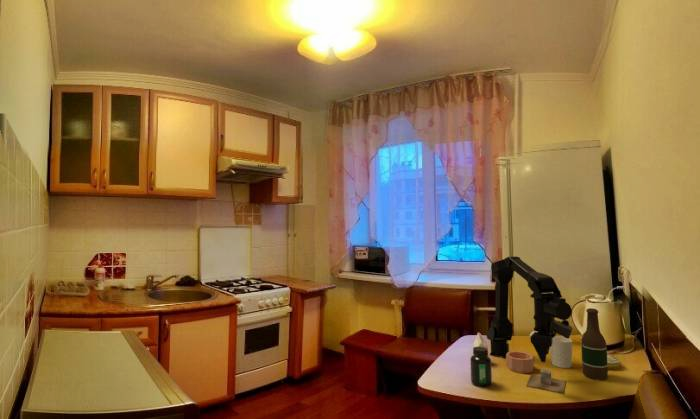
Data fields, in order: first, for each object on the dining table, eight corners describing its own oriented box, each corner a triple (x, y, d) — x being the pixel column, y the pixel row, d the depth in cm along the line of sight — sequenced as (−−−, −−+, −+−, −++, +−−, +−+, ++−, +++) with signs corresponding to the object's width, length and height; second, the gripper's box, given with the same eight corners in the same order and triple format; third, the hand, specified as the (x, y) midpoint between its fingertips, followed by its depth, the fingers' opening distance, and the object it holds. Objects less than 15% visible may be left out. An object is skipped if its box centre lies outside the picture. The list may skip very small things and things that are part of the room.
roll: (487, 335, 146) (472, 334, 148) (488, 366, 146) (473, 365, 148) (487, 331, 152) (472, 330, 154) (488, 361, 151) (473, 359, 153)
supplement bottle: (486, 389, 126) (485, 353, 127) (467, 384, 131) (466, 349, 131) (495, 383, 131) (493, 348, 132) (476, 377, 136) (475, 344, 136)
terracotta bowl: (505, 370, 142) (504, 356, 142) (509, 362, 150) (509, 349, 150) (531, 375, 137) (530, 361, 137) (534, 366, 145) (534, 353, 145)
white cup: (576, 369, 142) (575, 342, 142) (553, 368, 143) (552, 341, 144) (568, 361, 149) (567, 336, 150) (547, 360, 151) (546, 335, 151)
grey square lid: (526, 388, 128) (525, 373, 128) (531, 376, 137) (530, 363, 137) (563, 395, 122) (562, 380, 122) (565, 383, 131) (565, 369, 131)
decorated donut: (624, 365, 145) (624, 355, 145) (616, 373, 138) (616, 363, 138) (593, 358, 153) (593, 349, 153) (584, 365, 146) (584, 355, 146)
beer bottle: (577, 372, 139) (574, 307, 140) (597, 371, 139) (594, 306, 140) (592, 381, 131) (589, 312, 132) (613, 380, 132) (610, 311, 133)
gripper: (568, 322, 118) (570, 372, 118) (571, 309, 134) (573, 354, 133) (529, 317, 125) (531, 365, 124) (537, 306, 140) (538, 348, 140)
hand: (545, 358), depth 130 cm, fingers open, 9 cm apart
